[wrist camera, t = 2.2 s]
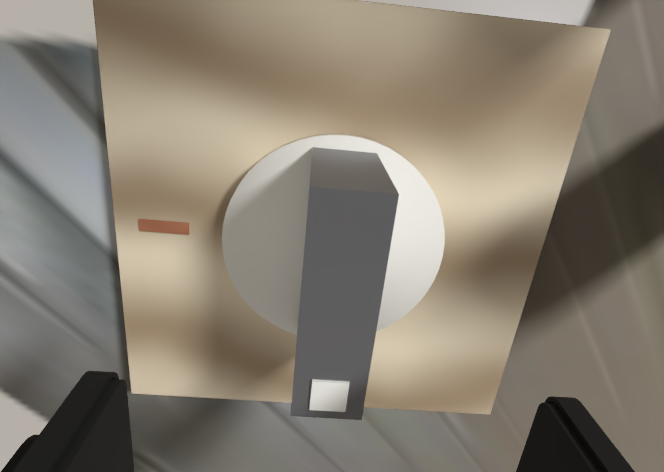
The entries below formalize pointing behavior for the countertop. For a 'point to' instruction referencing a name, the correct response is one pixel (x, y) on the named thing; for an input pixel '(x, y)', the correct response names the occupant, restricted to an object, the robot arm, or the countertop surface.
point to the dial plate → (343, 118)
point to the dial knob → (333, 257)
